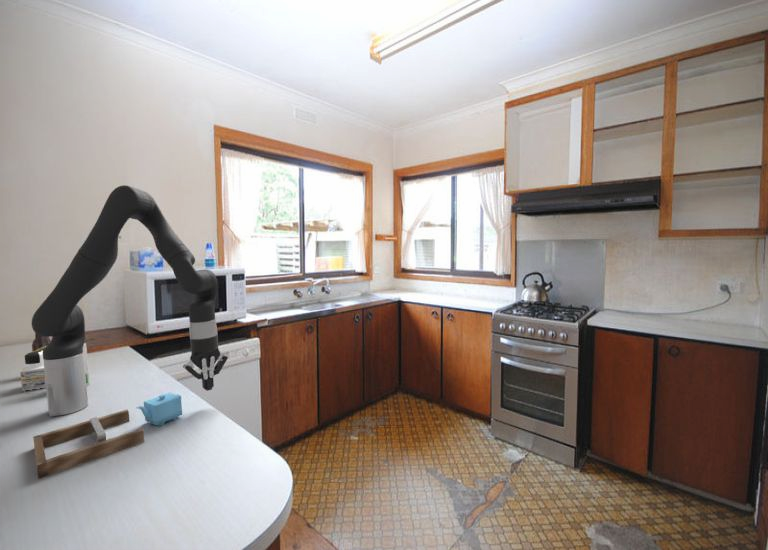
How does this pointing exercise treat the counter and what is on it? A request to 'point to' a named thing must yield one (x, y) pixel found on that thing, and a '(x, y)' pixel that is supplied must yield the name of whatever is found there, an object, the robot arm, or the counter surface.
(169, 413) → the teapot
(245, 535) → the counter surface
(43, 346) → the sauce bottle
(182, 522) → the counter surface
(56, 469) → the bracket
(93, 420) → the stop plate
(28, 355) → the container
